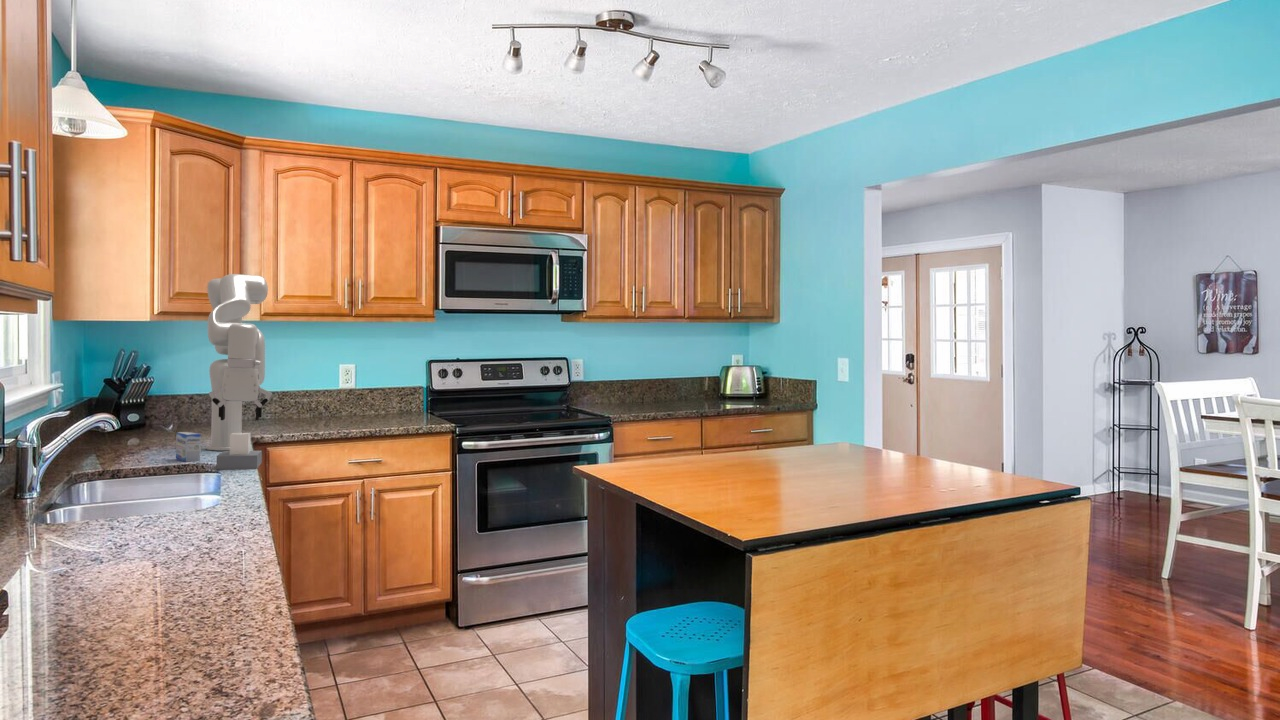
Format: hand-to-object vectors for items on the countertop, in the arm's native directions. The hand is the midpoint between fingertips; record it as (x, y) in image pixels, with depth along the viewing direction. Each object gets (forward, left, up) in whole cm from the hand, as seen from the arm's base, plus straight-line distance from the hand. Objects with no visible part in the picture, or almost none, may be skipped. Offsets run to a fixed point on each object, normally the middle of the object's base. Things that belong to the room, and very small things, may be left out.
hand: (240, 419), depth 242 cm
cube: (+1, 0, -10) cm, 10 cm away
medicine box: (-15, -17, -15) cm, 27 cm away
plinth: (+1, 0, -14) cm, 14 cm away
